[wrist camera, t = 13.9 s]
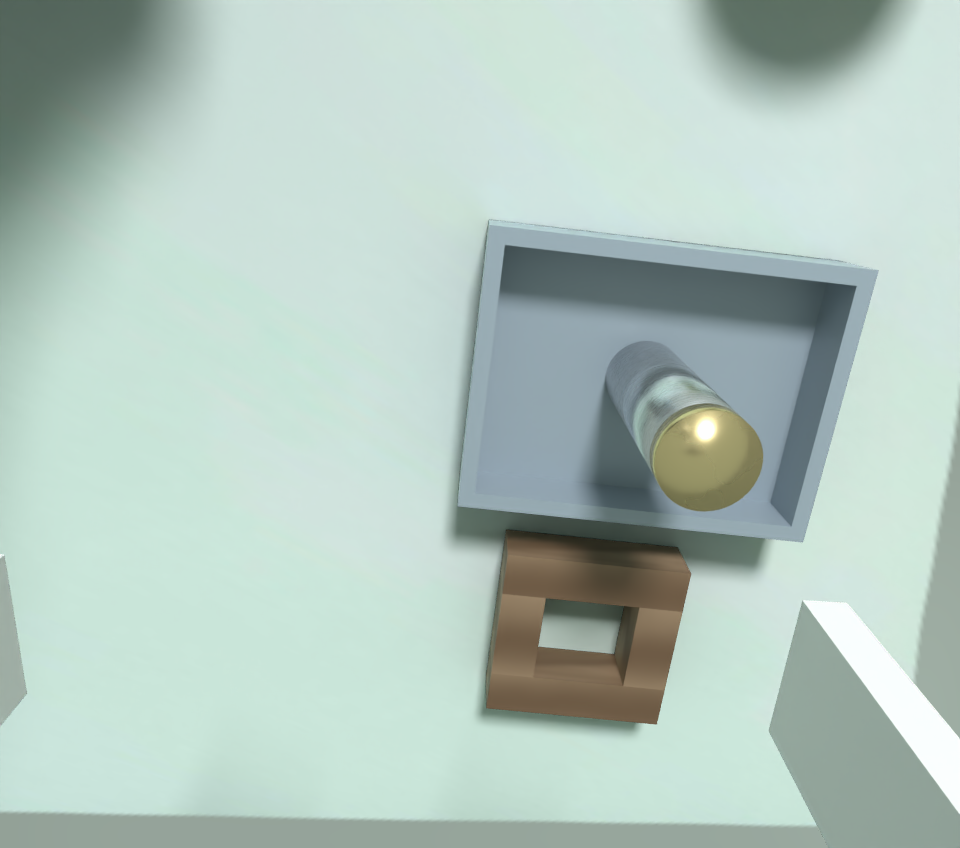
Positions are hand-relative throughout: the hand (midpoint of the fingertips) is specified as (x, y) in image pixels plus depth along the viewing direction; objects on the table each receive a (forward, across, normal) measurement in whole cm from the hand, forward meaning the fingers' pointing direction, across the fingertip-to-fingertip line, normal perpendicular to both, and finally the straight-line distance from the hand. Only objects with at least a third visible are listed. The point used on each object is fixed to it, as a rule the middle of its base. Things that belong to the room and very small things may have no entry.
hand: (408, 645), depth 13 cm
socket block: (+28, +9, -18) cm, 34 cm away
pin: (+27, +10, -3) cm, 29 cm away
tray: (+28, +10, -3) cm, 30 cm away
